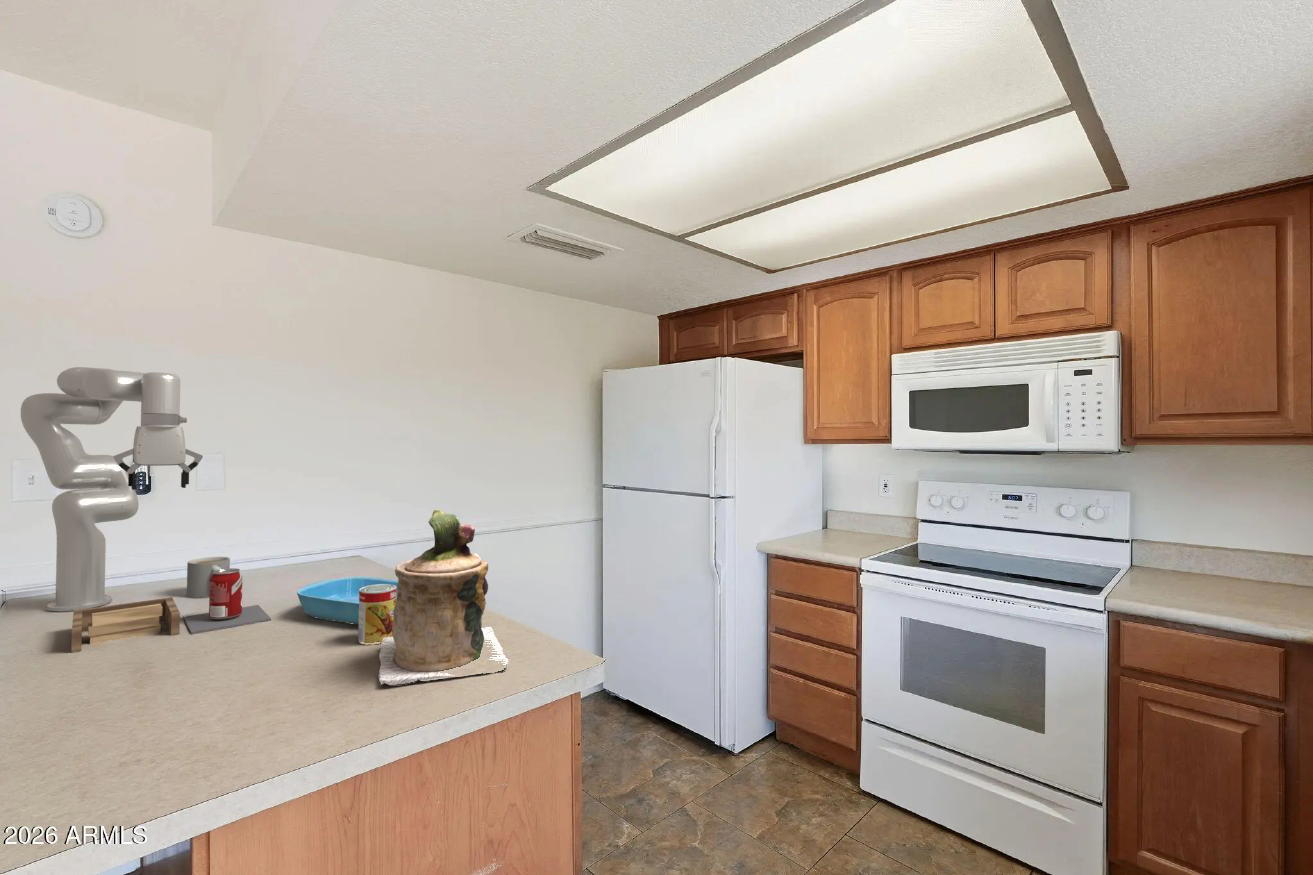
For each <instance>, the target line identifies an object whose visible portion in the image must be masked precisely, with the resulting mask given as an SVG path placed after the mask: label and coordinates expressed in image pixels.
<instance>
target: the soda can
mask: <svg viewBox="0 0 1313 875" xmlns="http://www.w3.org/2000/svg"><path fill="white" fill-rule="evenodd" d="M240 571H241V569H240V568H235V567H234V568H233V567H231V568H230V569H221V570H216V571H214V572H213V576H212V577H211V578H210V591H209V600H208V601H209V602H208V603H209V604H208V607H209V608H208V613H209V618H210V619H213V620H216V621H222V620H229V619H233V618H236V617H237V616H239V615H240V614H242V607H243V583H244V582H243V578H244V577H243V575H242V573H241V572H240Z"/></svg>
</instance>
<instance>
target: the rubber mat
mask: <svg viewBox="0 0 1313 875" xmlns="http://www.w3.org/2000/svg"><path fill="white" fill-rule="evenodd" d="M265 620H270V621H272V618H271V617H270V615H269V614H268V613H267V612H266V611H265V610H264V609H263V608H261V606H260V605H259V604H255V605H249V606H248V605H247V606H242V614H240V615H239V616H237V617H236V618H233V619H229V620H222V621H216V620H213V619H210V618H209V612H205V613H198V614H192V615H185V616H183V621H184V622H185V625H186V626H187V628H188V631H189V632H190V634H191V635H194V634H201V633H206V632H212V631H217V630H218V629H219V630H222V629H223V630H225V629H229V628H236V627H241V625H242V626H245V625H244V624H247V625H251V623H253V624H255V623H254V622H259V623H262V622H261V621H265ZM265 622H266V621H265ZM235 626H236V627H235Z"/></svg>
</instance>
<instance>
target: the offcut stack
mask: <svg viewBox="0 0 1313 875" xmlns="http://www.w3.org/2000/svg"><path fill="white" fill-rule="evenodd" d="M159 616H162V605H161V604H155V605H148V606H141V607H134V608H127V609H120V610H113V611H106V612H99V613H92V623H88V631H87V634H88V635H87V637H89V644H90V645H93V643H94V644H98V643H97V642H100V643H105V641H106V642H109V641H108V640H112V641H117V640H116V639H118V640H121V639H120V638H123V639H128V638H127V637H129V638H132V637H131V636H135V637H140V635H141V636H145V635H152V633H153V634H157V633H161V627H162V626H161V622H160V620H159Z"/></svg>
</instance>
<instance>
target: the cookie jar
mask: <svg viewBox="0 0 1313 875" xmlns="http://www.w3.org/2000/svg"><path fill="white" fill-rule="evenodd" d="M428 524H429V526H430V527H431V529H432V530H433V536H434V546H432V547H431V548H429V549H427V550H425V551H424V552H423V553H422V554H421V555H419V556H417V557H414V558H412V559H409V560H406V561H403V562H400V563H397V565H396V566H395V569H394V574H395V576H396V577H397V579H398V580H397V581H398V585H397V593H398V594H397V598H396V604H395V607H394V615H393V617H394V621H393V637H386V638H383V640H382V642H381V644H380V647H379V650H380V651H379V652H378V653H379V654H378V656H379V657H378V659H379V661H380V667H379V669H378V670H379V671H378V673H379V674H378V675H377V676H378V680H379V683H380V686H381V685H382V686H383V685H384V684H386V685H388V686H397V685H396V684H403V683H409V684H411V683H410V682H413V683H415V682H414V681H417V682H422V681H421V680H427V679H434V678H443V677H449V676H455V675H452V674H451V675H450V674H448V673H440V672H443V671H444V670H449V669H453V668H456V667H461V666H463V665H466V664H468V663H470V662H471V661H474V660H476V659H478V658H479V657H480V654H481V650H482V648H483V644H486V643H484V640H491V641H485V642H490V643H487V644H489V645H490V644H491V645H493V646H487V647H493V648H491V649H495V650H492V651H497V652H491V653H497V654H500V655H492V656H497V657H490V658H493V659H489V660H495V661H505V662H501V663H505V664H503V665H506V664H508V665H509V658H508V657H506V655H505V654H504V652H503V651H504V649H503V646H502V645H501V644H500V642H499V641H498V638H497V637H496V635H495V632H494V629H493V628H492V626H487V627H485V626H484V627H483V622H482V621H483V618H482V617H483V616H484V612H485V608H486V605H487V602H486V598H485V597H486V595H487V594H488V592H489V583H488V581H487V579H486V575H487V574H488V571H489V563H488V562H487V561H484V560H483V558H482V557H481V556H480V555H479V554H478V553H473V552H472V551H471V549H470V547H469V546H468V544H470V543H473V541H474V539H475V532H476V530H475V528H474V526H471V525H470V524H464V523H461V522H460V519H459V518H458V516H457V515H456V514H452V513H451V514H450V513H446V512H444V511H442V510H441V509H439V508H436V509H434V510H433V512H432V515H431V517H430V519H429V520H428ZM491 642H492V643H491ZM494 645H495V646H494ZM489 651H490V650H489ZM499 656H500V657H499ZM498 663H499V662H498Z"/></svg>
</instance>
